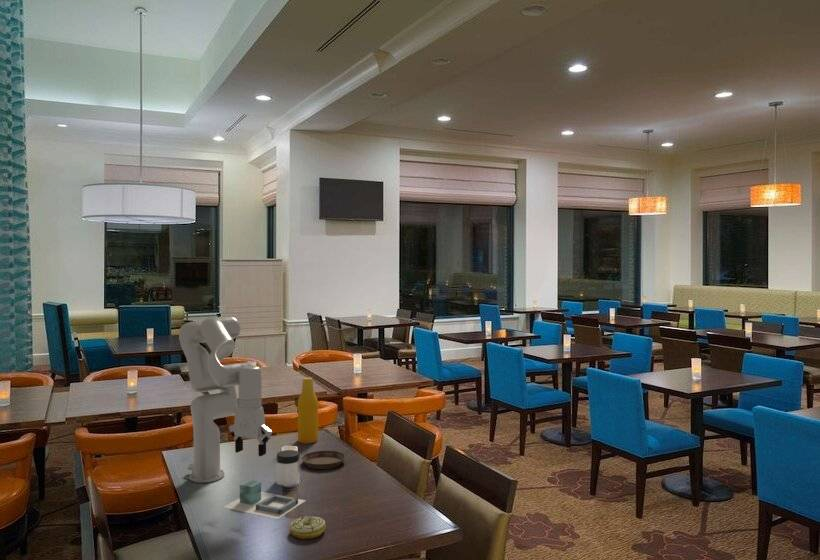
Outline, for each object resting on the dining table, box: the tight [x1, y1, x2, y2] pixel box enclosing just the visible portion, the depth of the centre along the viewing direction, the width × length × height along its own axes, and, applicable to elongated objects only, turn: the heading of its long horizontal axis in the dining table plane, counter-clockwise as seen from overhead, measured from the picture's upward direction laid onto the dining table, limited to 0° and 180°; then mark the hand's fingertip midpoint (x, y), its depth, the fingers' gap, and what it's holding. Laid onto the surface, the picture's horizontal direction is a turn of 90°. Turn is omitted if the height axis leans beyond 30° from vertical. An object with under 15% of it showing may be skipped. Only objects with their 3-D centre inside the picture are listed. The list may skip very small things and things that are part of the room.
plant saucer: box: [301, 450, 346, 470], centre depth 243 cm, size 18×18×3 cm
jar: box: [275, 449, 300, 487], centre depth 218 cm, size 9×8×12 cm
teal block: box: [239, 479, 262, 505], centre depth 201 cm, size 5×5×6 cm
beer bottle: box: [297, 377, 319, 444], centre depth 273 cm, size 9×9×29 cm
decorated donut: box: [288, 515, 327, 540], centre depth 181 cm, size 10×11×4 cm
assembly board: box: [222, 491, 307, 520], centre depth 198 cm, size 22×16×3 cm
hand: (250, 453), depth 200 cm, fingers open, 9 cm apart
